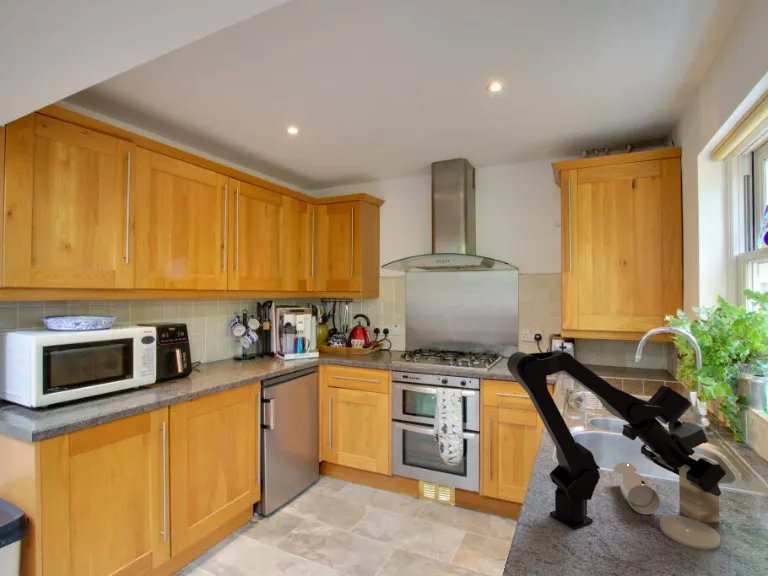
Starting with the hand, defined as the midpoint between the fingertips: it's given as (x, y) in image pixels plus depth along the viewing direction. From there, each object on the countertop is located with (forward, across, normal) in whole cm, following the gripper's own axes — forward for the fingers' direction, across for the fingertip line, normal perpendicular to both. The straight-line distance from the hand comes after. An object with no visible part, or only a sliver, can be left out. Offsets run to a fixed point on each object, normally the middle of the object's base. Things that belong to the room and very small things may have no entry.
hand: (704, 486), depth 91 cm
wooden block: (+4, 0, +6) cm, 7 cm away
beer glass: (-4, +15, +9) cm, 18 cm away
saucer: (-2, -7, +11) cm, 13 cm away
